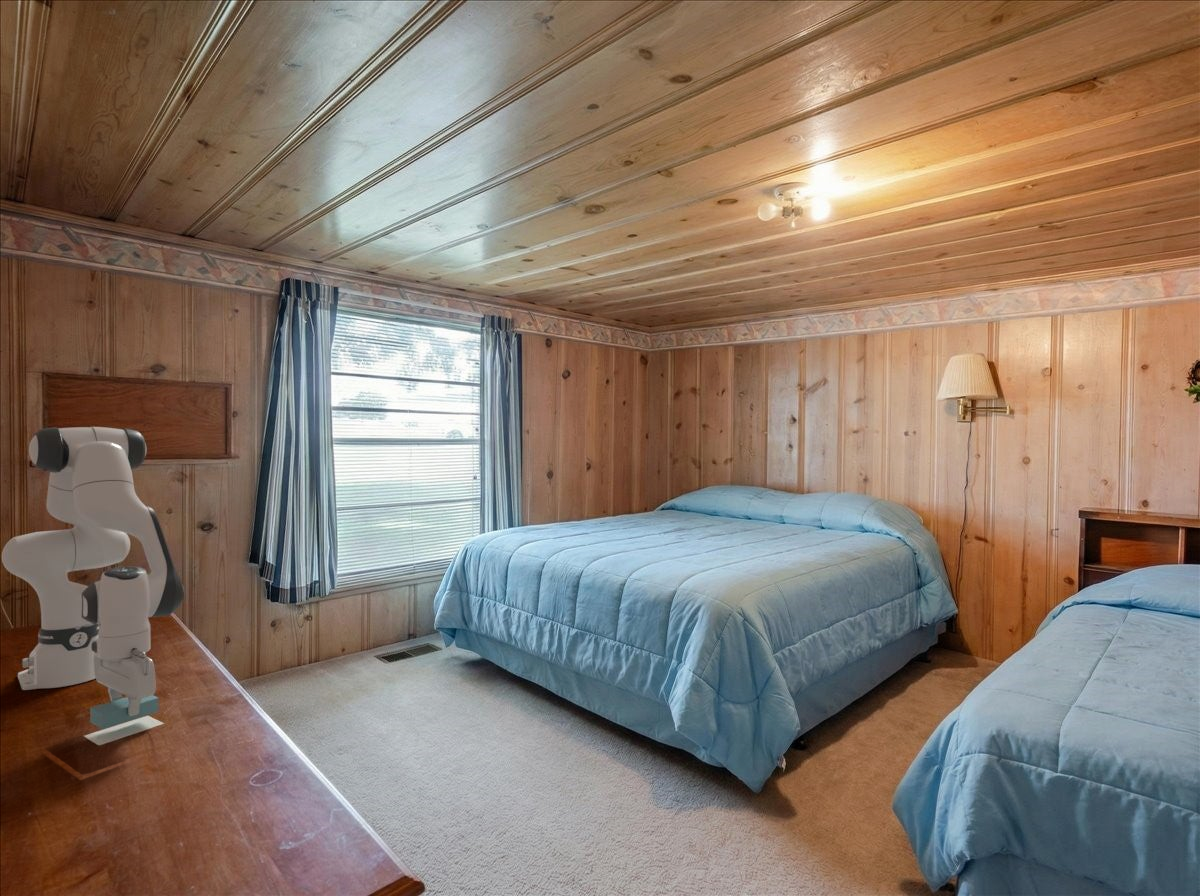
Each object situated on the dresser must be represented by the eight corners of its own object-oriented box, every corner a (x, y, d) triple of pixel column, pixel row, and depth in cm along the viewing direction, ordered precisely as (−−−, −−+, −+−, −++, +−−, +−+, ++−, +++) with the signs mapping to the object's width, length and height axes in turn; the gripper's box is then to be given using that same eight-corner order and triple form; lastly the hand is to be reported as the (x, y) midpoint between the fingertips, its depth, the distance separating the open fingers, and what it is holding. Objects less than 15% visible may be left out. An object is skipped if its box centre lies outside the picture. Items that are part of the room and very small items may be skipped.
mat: (68, 731, 133) (68, 727, 133) (164, 702, 148) (164, 699, 148) (102, 751, 123) (102, 748, 123) (200, 718, 139) (200, 715, 139)
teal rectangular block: (145, 705, 138) (145, 691, 138) (158, 711, 134) (158, 697, 134) (90, 722, 129) (90, 707, 129) (102, 729, 126) (102, 714, 126)
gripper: (164, 649, 129) (165, 716, 129) (121, 634, 140) (121, 695, 140) (129, 657, 123) (129, 727, 123) (87, 641, 134) (87, 705, 134)
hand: (124, 710), depth 132 cm, fingers closed on teal rectangular block, 6 cm apart
